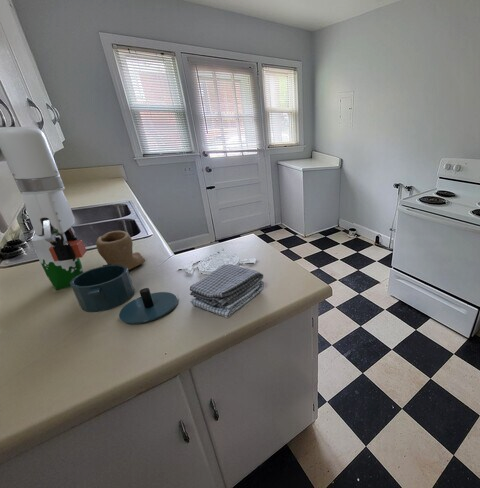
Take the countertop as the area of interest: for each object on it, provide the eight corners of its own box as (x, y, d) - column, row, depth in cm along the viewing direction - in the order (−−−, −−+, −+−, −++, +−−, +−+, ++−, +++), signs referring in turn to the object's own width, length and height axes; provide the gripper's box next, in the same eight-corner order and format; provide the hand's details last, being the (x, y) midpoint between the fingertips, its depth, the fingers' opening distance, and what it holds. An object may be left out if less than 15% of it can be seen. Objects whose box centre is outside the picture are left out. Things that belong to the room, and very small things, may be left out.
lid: (115, 332, 71) (107, 311, 68) (124, 302, 83) (117, 284, 80) (178, 315, 77) (172, 296, 74) (177, 290, 89) (173, 273, 86)
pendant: (217, 248, 120) (216, 245, 120) (265, 262, 107) (264, 259, 107) (171, 267, 103) (171, 264, 103) (222, 287, 90) (221, 284, 90)
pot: (71, 323, 74) (59, 297, 71) (89, 289, 90) (80, 266, 86) (130, 309, 80) (121, 284, 76) (138, 279, 95) (131, 258, 92)
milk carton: (87, 283, 93) (65, 229, 85) (51, 292, 88) (24, 235, 80) (87, 273, 100) (66, 222, 92) (53, 281, 94) (28, 228, 86)
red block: (54, 261, 67) (48, 248, 66) (60, 255, 70) (54, 243, 69) (82, 257, 69) (77, 244, 68) (86, 251, 72) (82, 239, 71)
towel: (266, 288, 90) (264, 268, 87) (224, 321, 75) (220, 297, 72) (232, 278, 96) (229, 258, 93) (188, 305, 81) (182, 283, 78)
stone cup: (115, 281, 94) (101, 242, 88) (95, 274, 99) (80, 236, 93) (155, 263, 107) (145, 227, 101) (136, 258, 111) (125, 223, 105)
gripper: (36, 180, 68) (64, 246, 75) (-2, 193, 54) (37, 273, 61) (73, 178, 71) (97, 242, 78) (47, 190, 57) (78, 266, 64)
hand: (70, 255), depth 70 cm, fingers closed on red block, 4 cm apart
